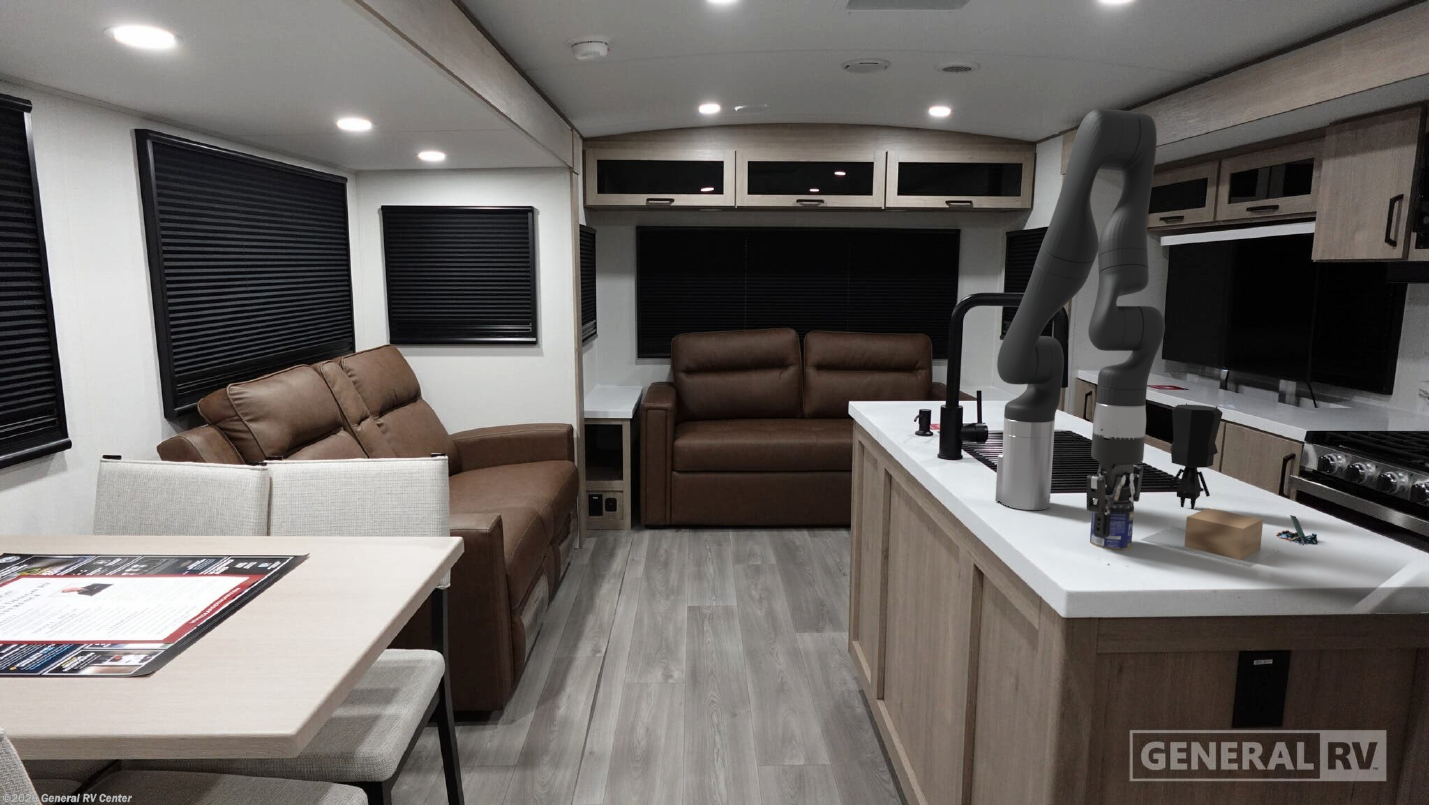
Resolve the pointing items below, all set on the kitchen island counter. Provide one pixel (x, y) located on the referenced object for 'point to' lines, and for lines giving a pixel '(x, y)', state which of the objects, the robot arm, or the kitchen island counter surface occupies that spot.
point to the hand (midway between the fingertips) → (1111, 532)
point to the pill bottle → (1117, 524)
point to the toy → (1193, 447)
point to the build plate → (1176, 540)
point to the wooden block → (1223, 533)
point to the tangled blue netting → (1298, 534)
